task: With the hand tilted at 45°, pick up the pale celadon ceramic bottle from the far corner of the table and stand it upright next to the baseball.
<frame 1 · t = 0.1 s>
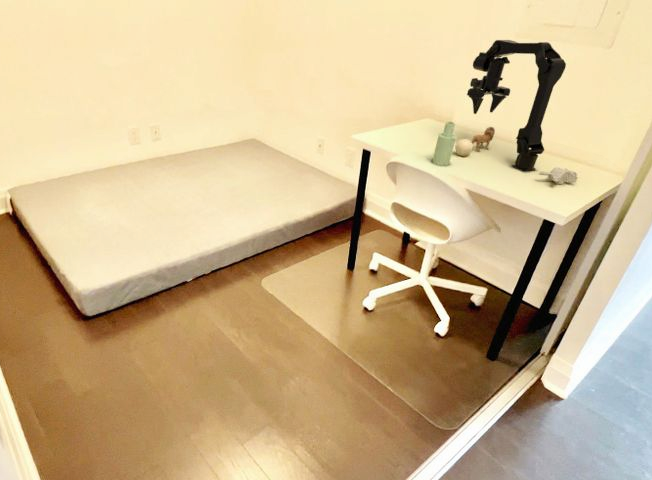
hand: (482, 113, 187), 15 cm above the table, tool pointing down, fingers open, 9 cm apart
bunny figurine: (556, 182, 163), on the table
bottle: (440, 162, 176), on the table
lion figurine: (478, 149, 193), on the table
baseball: (462, 155, 185), on the table
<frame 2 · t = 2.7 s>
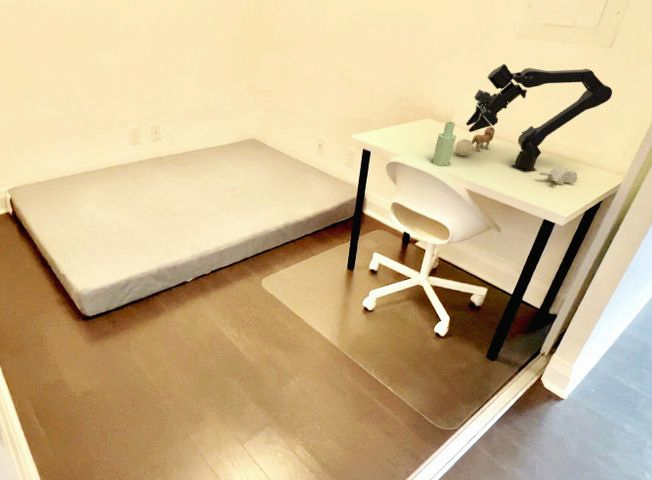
hand: (467, 127, 171), 14 cm above the table, tool tilted 40°, fingers open, 9 cm apart
nothing on the table moved.
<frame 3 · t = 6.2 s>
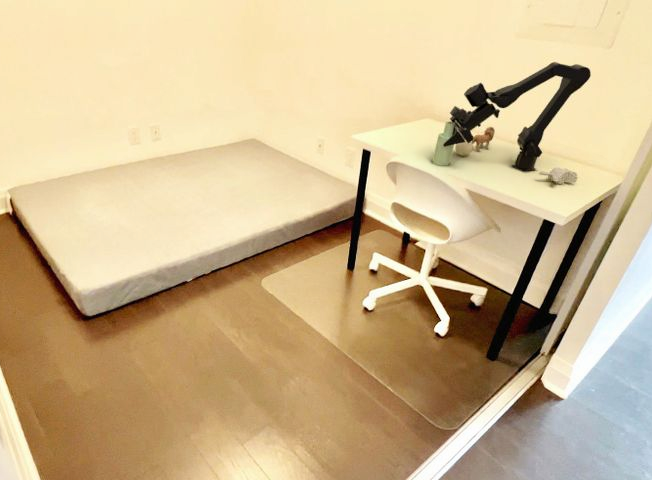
hand: (441, 142, 172), 8 cm above the table, tool tilted 45°, fingers closed on bottle, 7 cm apart
bottle: (440, 162, 176), on the table, touching gripper
everything else where it was.
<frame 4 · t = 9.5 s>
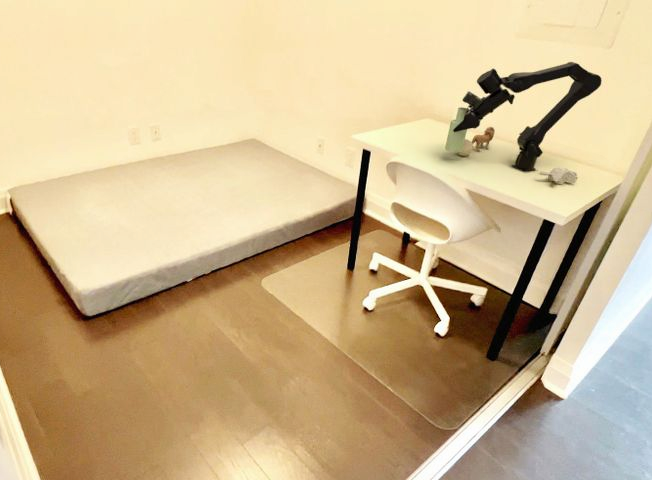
hand: (454, 128, 171), 13 cm above the table, tool tilted 45°, fingers closed on bottle, 7 cm apart
bottle: (453, 149, 175), point 5 cm above the table, touching gripper
everything else where it was.
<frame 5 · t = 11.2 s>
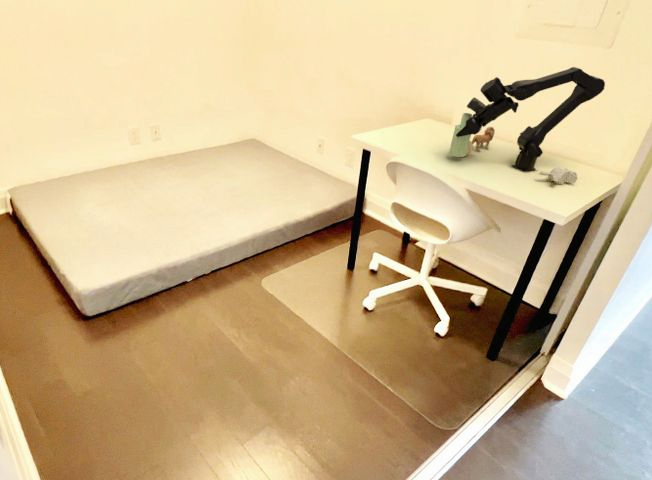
hand: (458, 133, 174), 11 cm above the table, tool tilted 45°, fingers closed on bottle, 7 cm apart
bottle: (457, 154, 178), point 3 cm above the table, touching gripper
everything else where it was.
when the fingers open (8 cm above the table, at t = 12.7 s): bottle stays where it is, on the table.
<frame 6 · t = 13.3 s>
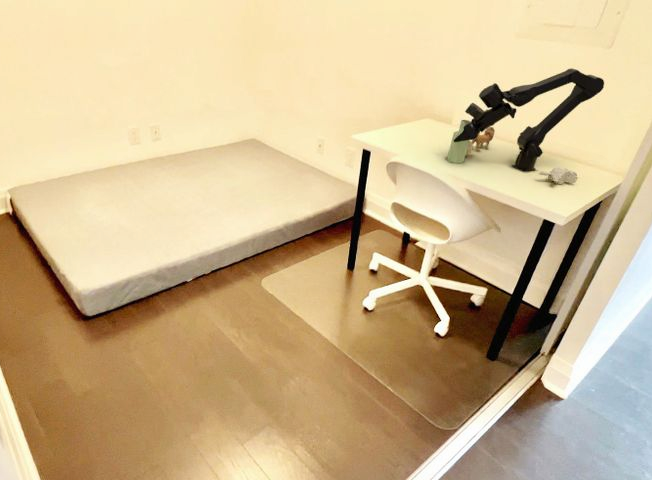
hand: (457, 138, 175), 9 cm above the table, tool tilted 45°, fingers open, 9 cm apart
bottle: (455, 160, 179), on the table
everything else where it was.
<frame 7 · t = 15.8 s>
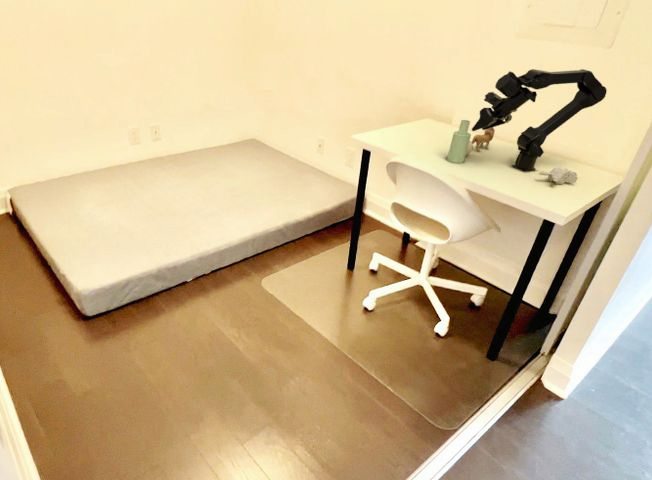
hand: (477, 129, 171), 13 cm above the table, tool tilted 40°, fingers open, 9 cm apart
nothing on the table moved.
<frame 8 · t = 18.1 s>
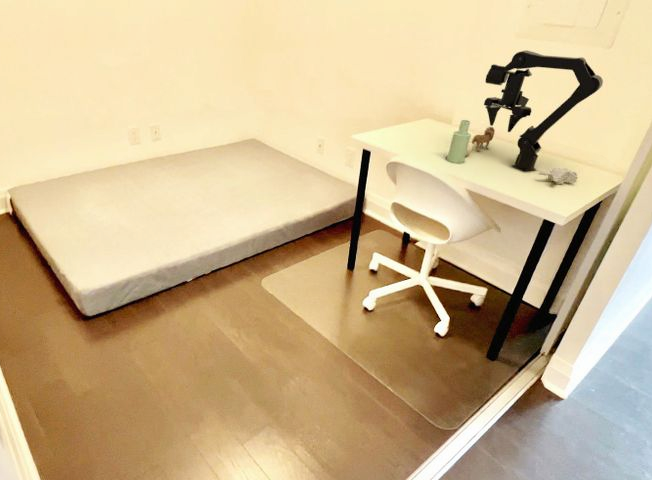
hand: (500, 128, 174), 13 cm above the table, tool pointing down, fingers open, 9 cm apart
nothing on the table moved.
at the end: bottle 8.5 cm from the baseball (horizontally); bottle tilted 0°; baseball moved 0.2 cm from its start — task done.
